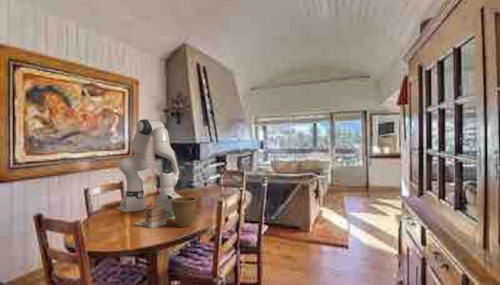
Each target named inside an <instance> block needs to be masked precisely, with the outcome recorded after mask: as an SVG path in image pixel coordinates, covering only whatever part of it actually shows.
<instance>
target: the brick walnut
mask: <svg viewBox="0 0 500 285" xmlns="http://www.w3.org/2000/svg"><path fill="white" fill-rule="evenodd" d="M145 211H146V212H145V213H146V215H145V217H150V218H153V217H157V216H161V215H164V214H165V206H162V205H158V206H156V205H155V206H150V207H146V209H145Z"/></svg>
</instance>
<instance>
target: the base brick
mask: <svg viewBox="0 0 500 285" xmlns="http://www.w3.org/2000/svg"><path fill="white" fill-rule="evenodd" d="M144 221H145V226H144V227H146V228H149V229H155V228H158V227H161V226H165V225H167V221H168V220H167V214H164V215H161V216H157V217H153V218H150V217H146V216H145V217H144Z"/></svg>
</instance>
